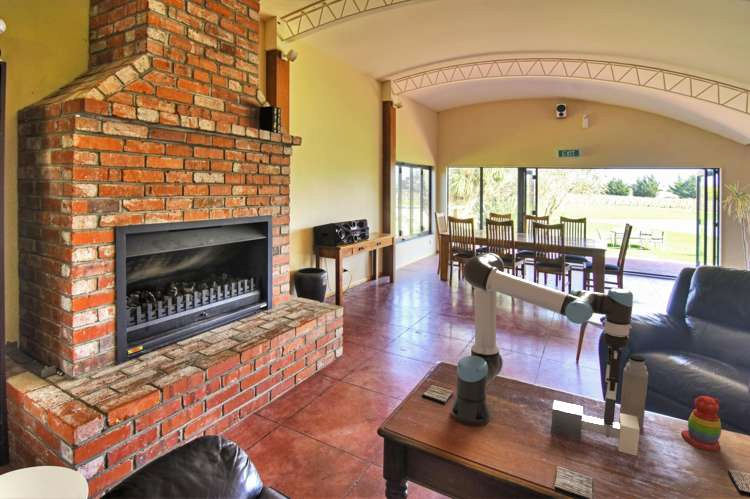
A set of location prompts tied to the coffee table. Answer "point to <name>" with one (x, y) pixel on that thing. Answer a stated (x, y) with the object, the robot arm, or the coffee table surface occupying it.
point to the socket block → (628, 434)
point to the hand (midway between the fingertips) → (610, 390)
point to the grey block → (567, 419)
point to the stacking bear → (704, 424)
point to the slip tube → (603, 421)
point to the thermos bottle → (634, 388)
